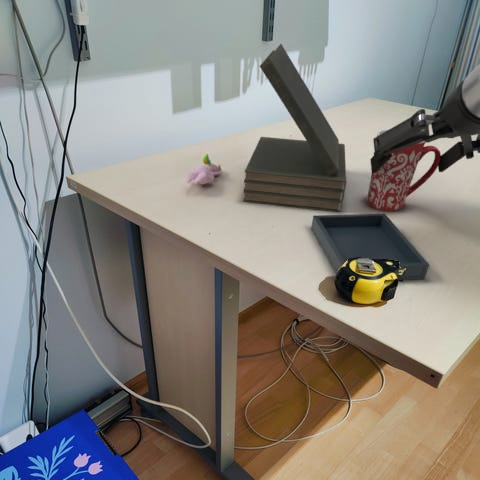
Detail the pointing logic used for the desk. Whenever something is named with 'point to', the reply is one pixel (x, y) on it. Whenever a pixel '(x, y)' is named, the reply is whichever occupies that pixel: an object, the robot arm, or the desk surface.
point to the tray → (367, 242)
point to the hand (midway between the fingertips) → (406, 165)
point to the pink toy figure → (204, 172)
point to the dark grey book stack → (296, 150)
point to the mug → (399, 177)
